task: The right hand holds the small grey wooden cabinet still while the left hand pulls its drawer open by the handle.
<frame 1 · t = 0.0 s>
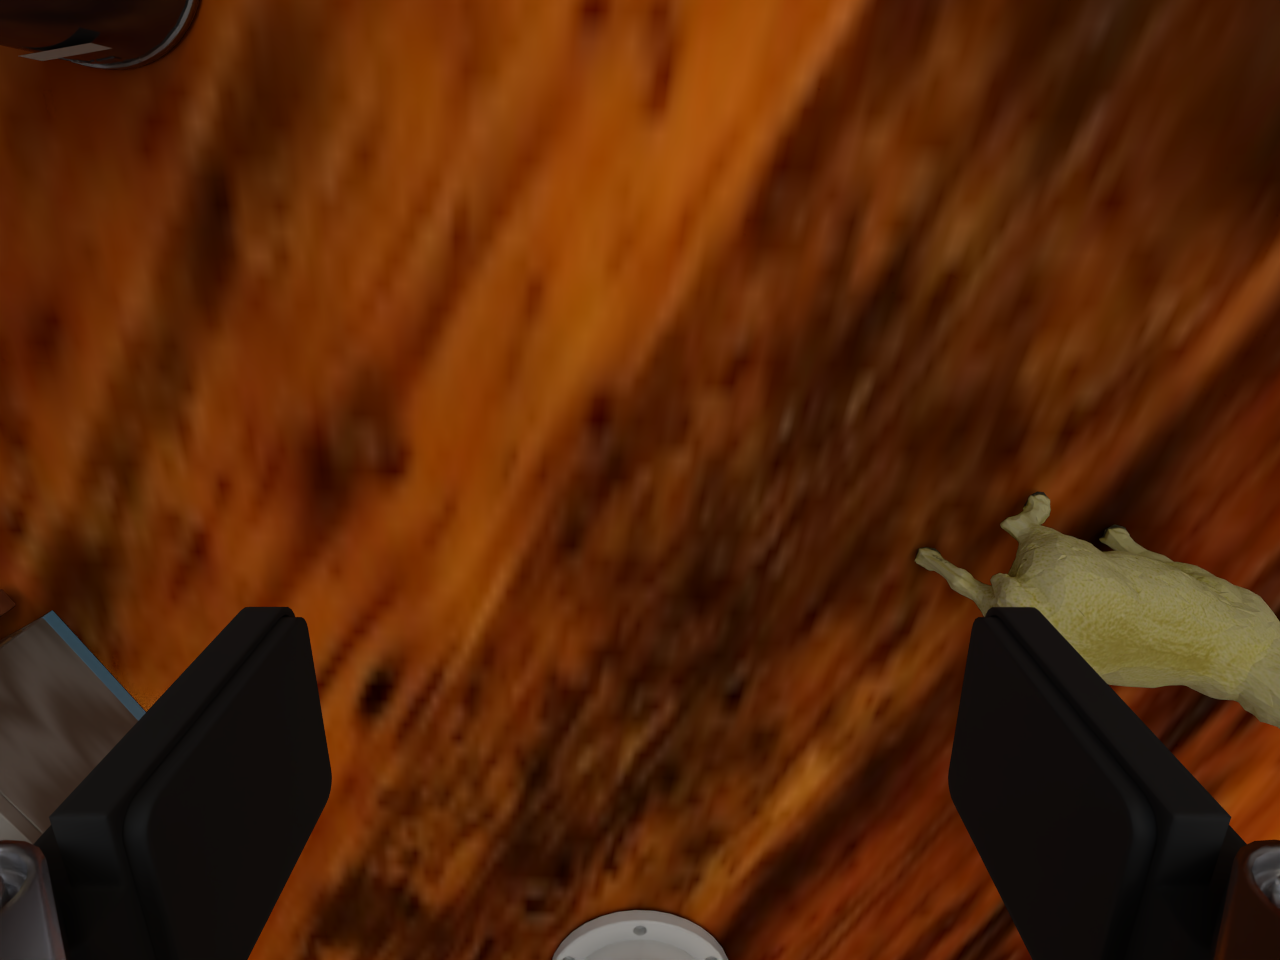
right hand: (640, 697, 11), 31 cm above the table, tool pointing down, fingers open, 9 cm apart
cabinet: (106, 728, 49), on the table
toy: (1069, 559, 45), on the table
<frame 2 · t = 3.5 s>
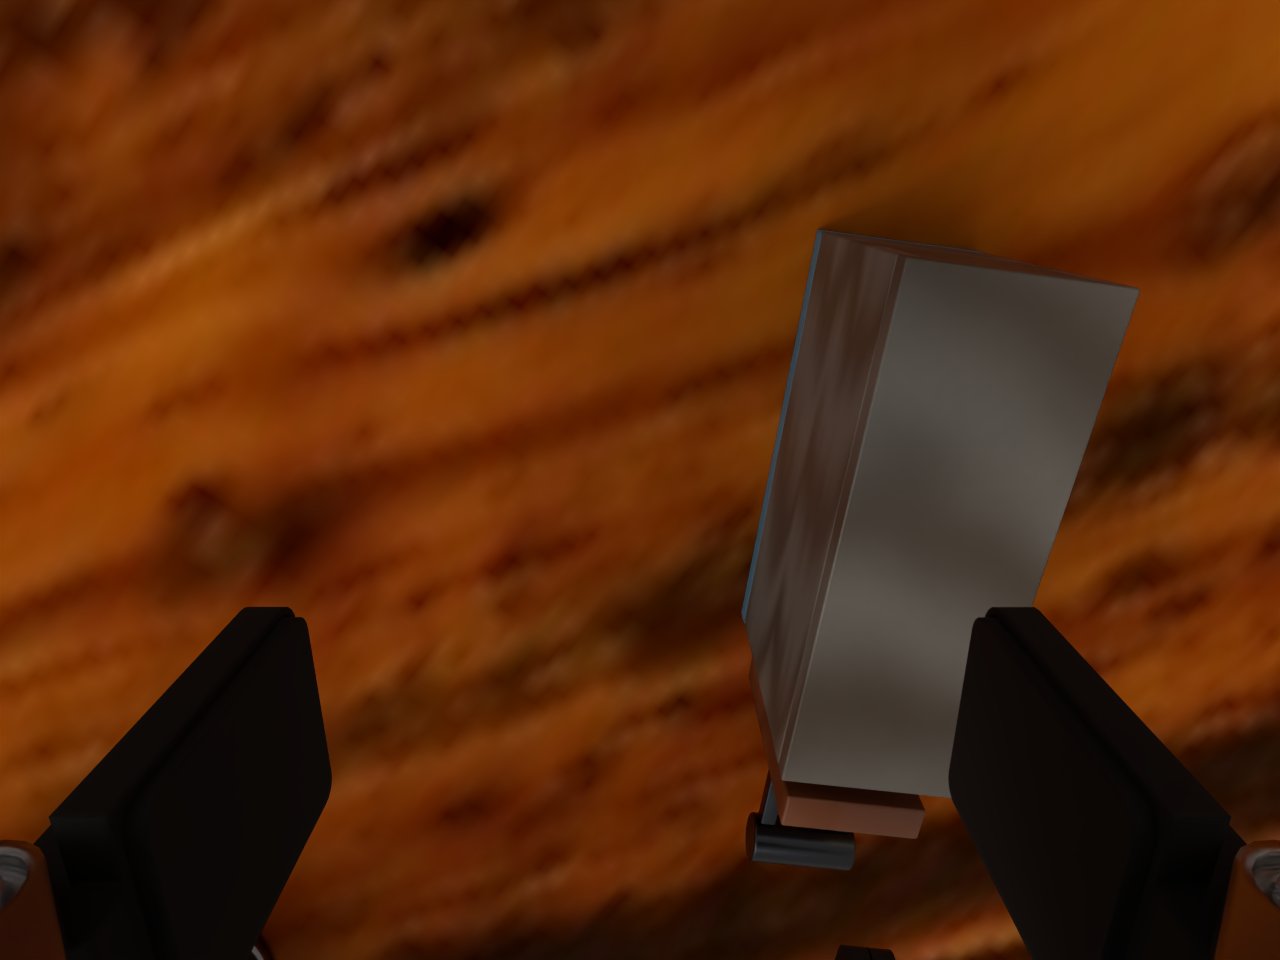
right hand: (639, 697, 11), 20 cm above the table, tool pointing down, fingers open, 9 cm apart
drawer: (849, 642, 28), point 5 cm above the table, slide at 1.3 cm
cabinet: (849, 446, 31), on the table
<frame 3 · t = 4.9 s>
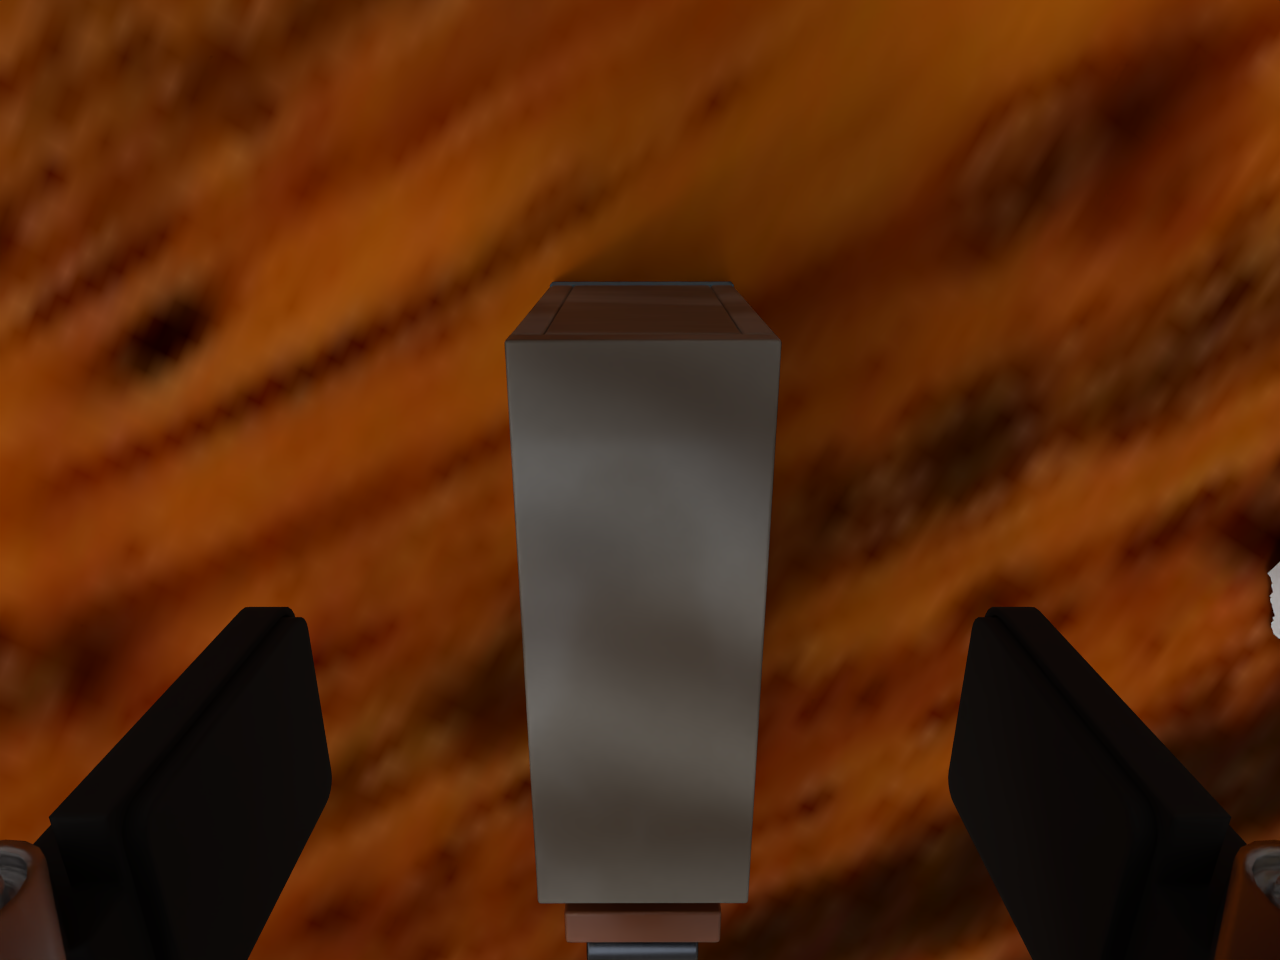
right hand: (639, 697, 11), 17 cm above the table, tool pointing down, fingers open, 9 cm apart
drawer: (642, 724, 26), point 5 cm above the table, slide at 1.3 cm
cabinet: (641, 503, 29), on the table
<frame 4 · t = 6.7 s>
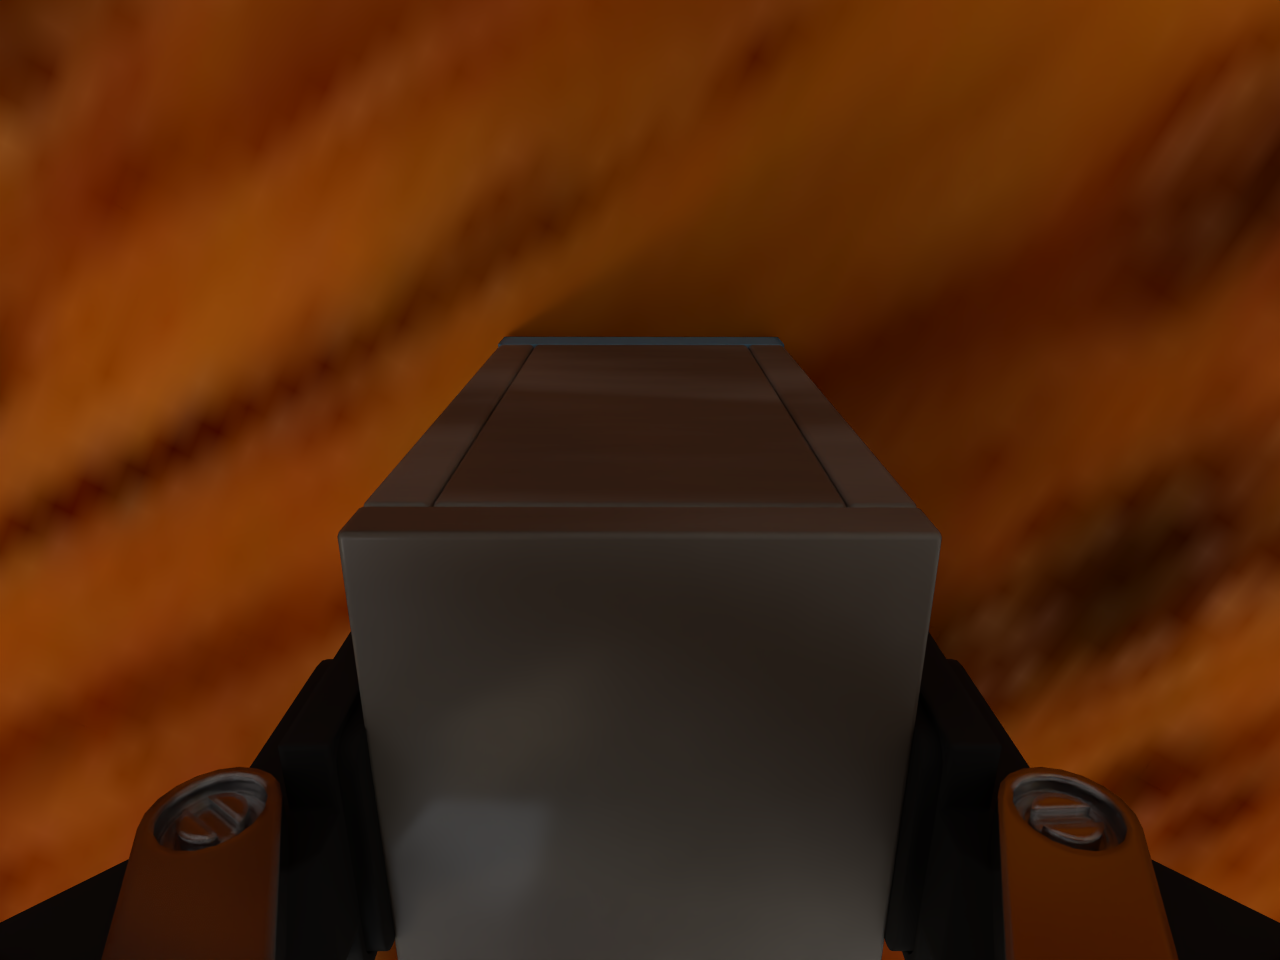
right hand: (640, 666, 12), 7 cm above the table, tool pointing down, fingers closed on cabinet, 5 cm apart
cabinet: (640, 653, 20), on the table, touching right hand
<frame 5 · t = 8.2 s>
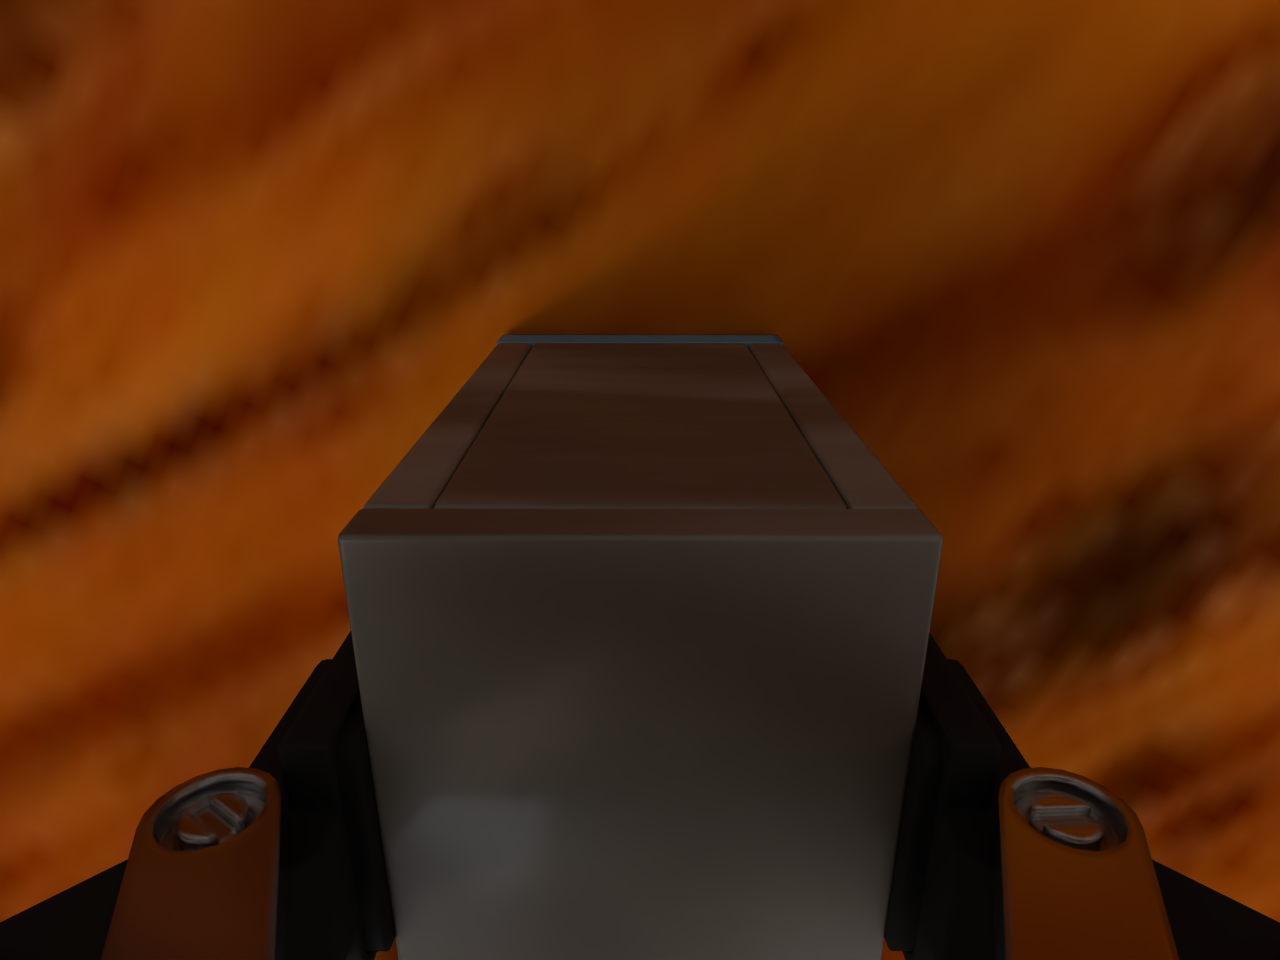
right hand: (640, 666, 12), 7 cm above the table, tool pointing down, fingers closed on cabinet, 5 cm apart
cabinet: (639, 651, 20), on the table, touching right hand
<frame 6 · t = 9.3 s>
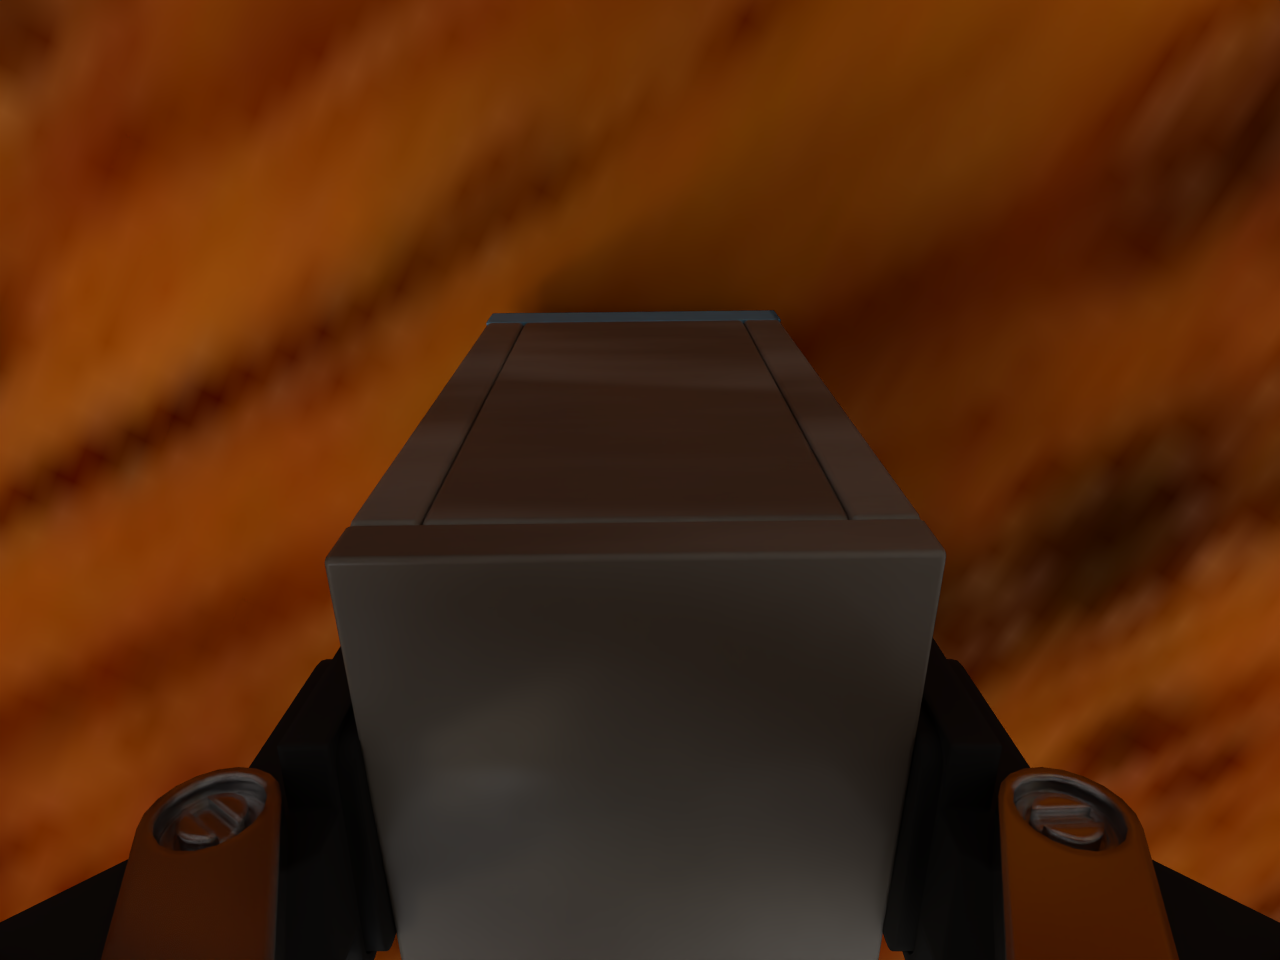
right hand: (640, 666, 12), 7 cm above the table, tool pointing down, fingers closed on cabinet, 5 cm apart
cabinet: (637, 627, 20), on the table, touching right hand
when the right hand's fingers open (7 cm above the table, at t = 11.1 s): cabinet stays where it is, on the table.
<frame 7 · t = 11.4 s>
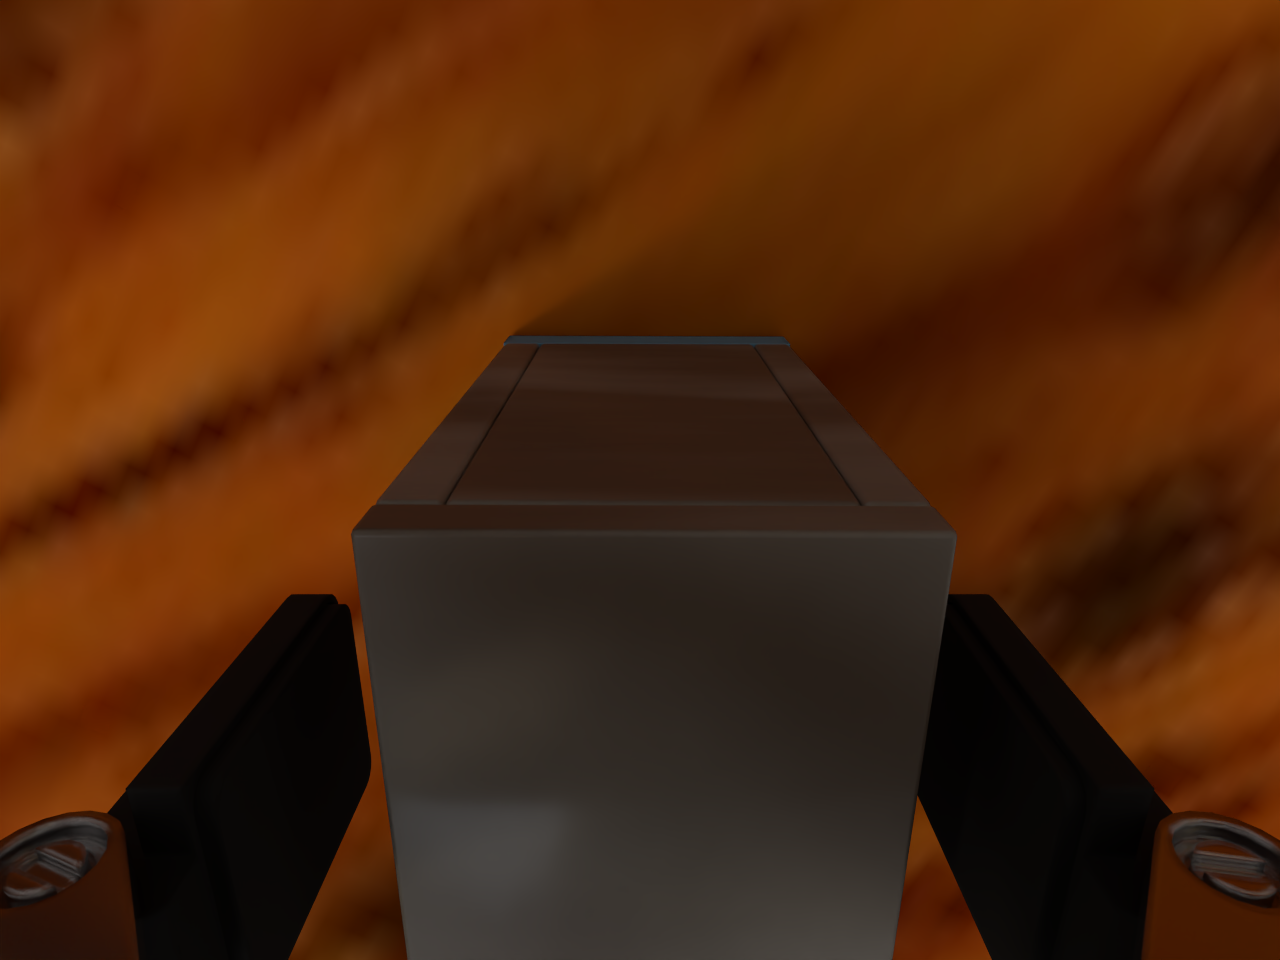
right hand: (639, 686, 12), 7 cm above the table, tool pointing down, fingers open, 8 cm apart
cabinet: (644, 653, 20), on the table
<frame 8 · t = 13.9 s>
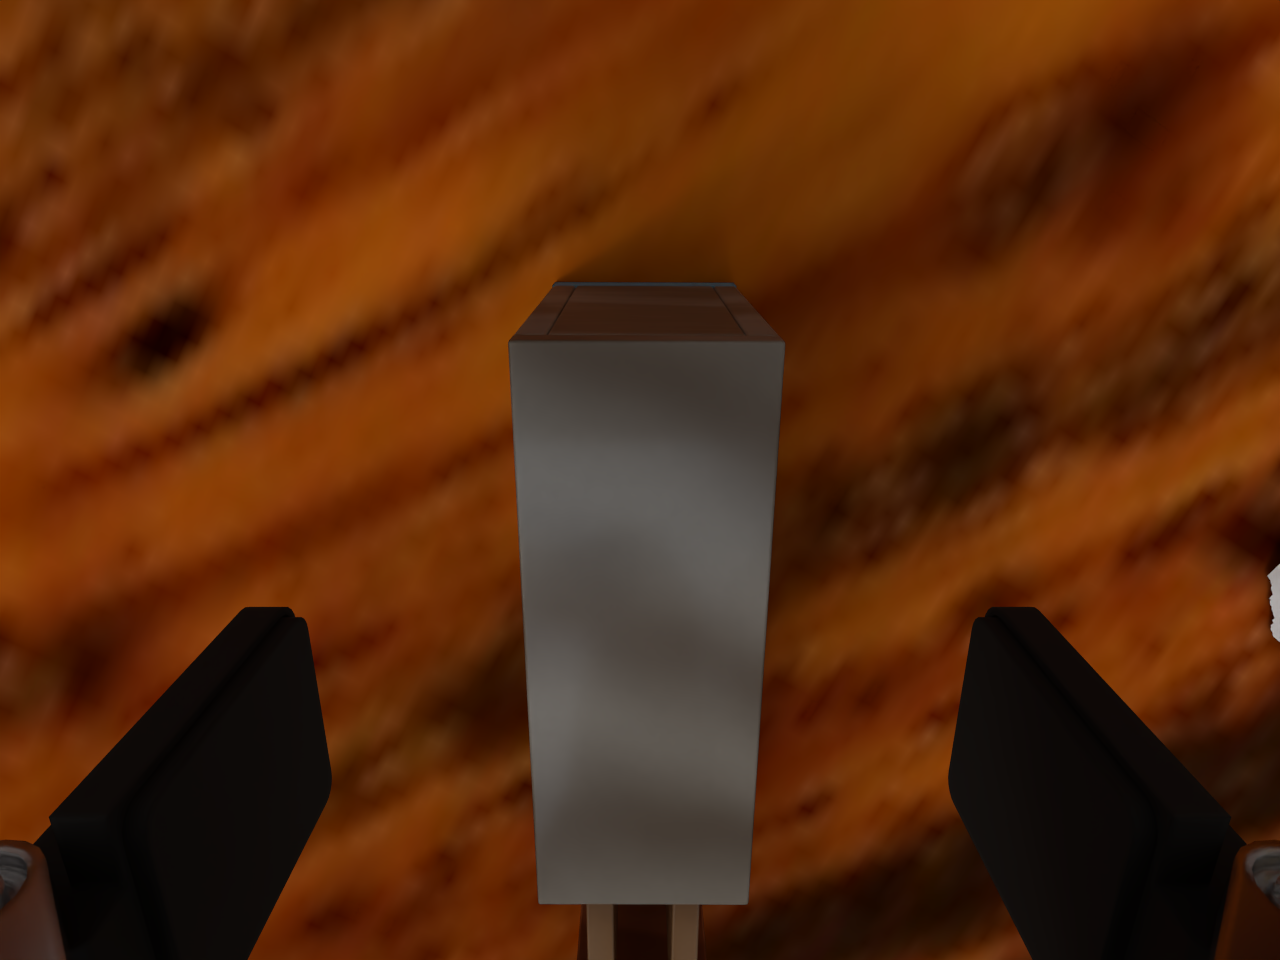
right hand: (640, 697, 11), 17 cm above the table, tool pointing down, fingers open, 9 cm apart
drawer: (642, 861, 28), point 5 cm above the table, slide at 7.0 cm
cabinet: (643, 504, 29), on the table
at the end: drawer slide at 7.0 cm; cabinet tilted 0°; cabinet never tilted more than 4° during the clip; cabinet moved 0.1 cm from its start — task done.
